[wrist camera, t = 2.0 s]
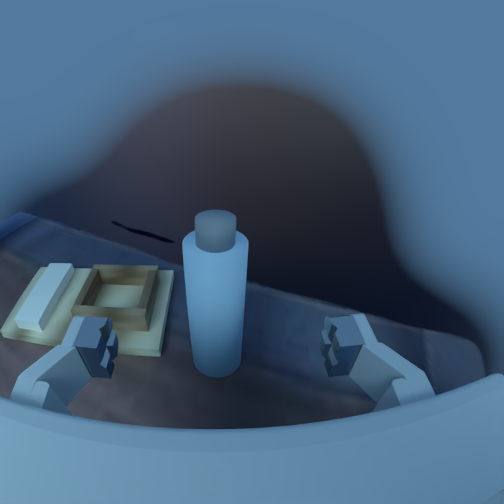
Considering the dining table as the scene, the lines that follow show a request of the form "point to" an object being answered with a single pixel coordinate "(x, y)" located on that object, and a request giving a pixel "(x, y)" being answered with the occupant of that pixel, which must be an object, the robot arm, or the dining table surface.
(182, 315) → the dining table surface
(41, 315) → the white rectangular bar
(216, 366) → the tapered blue cylinder
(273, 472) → the robot arm
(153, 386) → the dining table surface
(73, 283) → the jig
